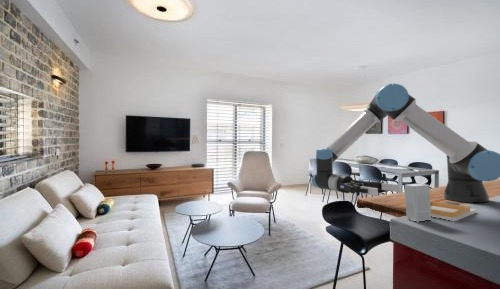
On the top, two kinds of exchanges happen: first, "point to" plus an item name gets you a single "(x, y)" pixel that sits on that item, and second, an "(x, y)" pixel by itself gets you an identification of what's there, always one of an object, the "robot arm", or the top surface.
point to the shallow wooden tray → (450, 210)
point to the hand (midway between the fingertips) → (388, 190)
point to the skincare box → (418, 202)
